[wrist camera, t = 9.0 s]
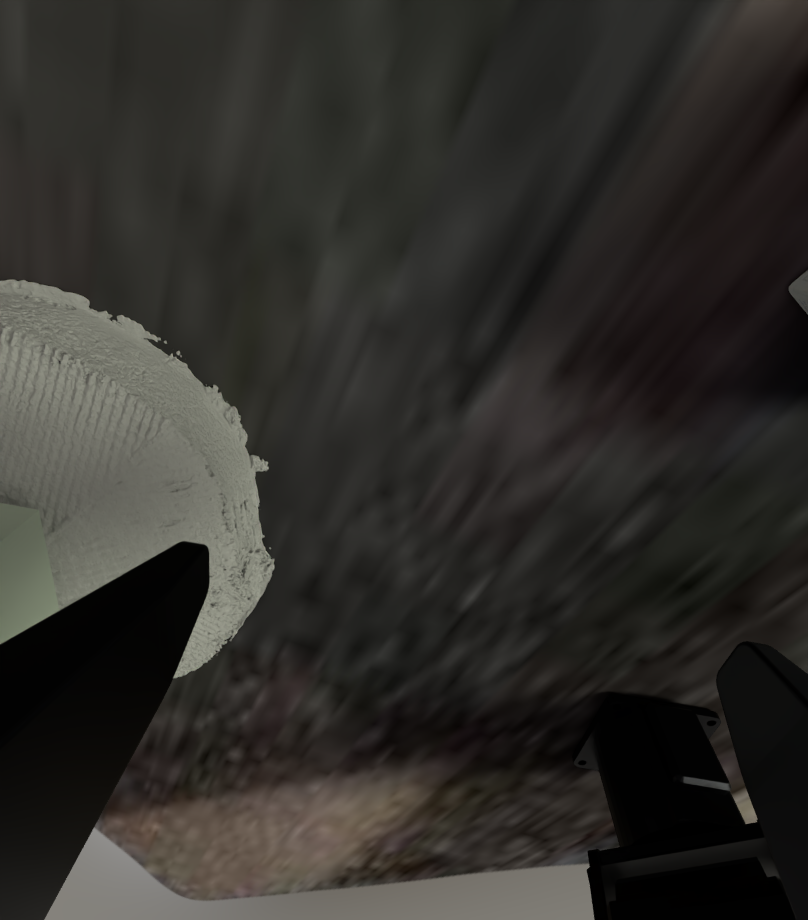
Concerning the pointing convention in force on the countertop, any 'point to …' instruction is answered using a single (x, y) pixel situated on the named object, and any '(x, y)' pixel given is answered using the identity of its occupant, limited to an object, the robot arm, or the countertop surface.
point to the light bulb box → (800, 291)
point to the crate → (23, 571)
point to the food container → (124, 457)
